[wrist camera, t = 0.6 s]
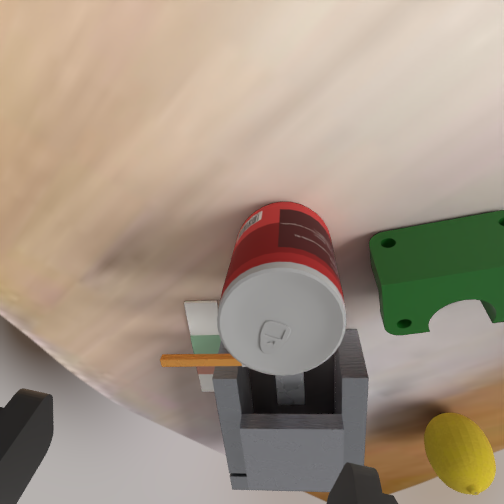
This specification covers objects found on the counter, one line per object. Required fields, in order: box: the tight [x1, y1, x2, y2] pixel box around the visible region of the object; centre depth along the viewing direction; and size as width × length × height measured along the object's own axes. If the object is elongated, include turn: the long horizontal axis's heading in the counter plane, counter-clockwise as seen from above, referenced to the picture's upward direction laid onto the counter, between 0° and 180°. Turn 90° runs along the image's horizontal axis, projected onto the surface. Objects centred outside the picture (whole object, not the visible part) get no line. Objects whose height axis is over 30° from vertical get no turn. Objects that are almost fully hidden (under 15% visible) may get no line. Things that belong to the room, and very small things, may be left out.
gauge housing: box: [212, 329, 369, 492], centre depth 37 cm, size 12×14×8 cm
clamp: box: [369, 210, 504, 335], centre depth 30 cm, size 12×6×9 cm, turn 97°
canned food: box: [217, 202, 346, 375], centre depth 28 cm, size 8×8×11 cm
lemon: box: [424, 413, 496, 495], centre depth 37 cm, size 6×6×8 cm
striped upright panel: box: [184, 300, 221, 392], centre depth 39 cm, size 3×11×1 cm, turn 5°
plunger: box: [160, 354, 305, 405], centre depth 35 cm, size 14×8×7 cm, turn 95°
